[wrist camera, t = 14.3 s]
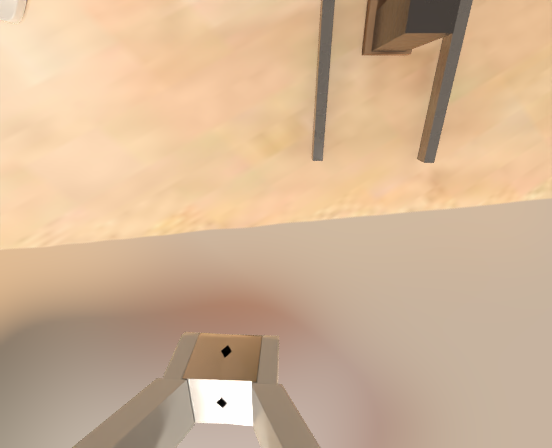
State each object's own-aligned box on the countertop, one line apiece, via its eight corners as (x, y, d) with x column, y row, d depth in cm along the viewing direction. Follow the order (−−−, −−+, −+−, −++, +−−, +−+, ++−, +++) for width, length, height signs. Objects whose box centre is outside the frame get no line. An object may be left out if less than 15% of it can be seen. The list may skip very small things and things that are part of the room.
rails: (311, 157, 37) (312, 160, 35) (332, -189, 25) (335, -212, 23) (426, 159, 37) (433, 162, 35) (506, -194, 24) (524, -218, 22)
